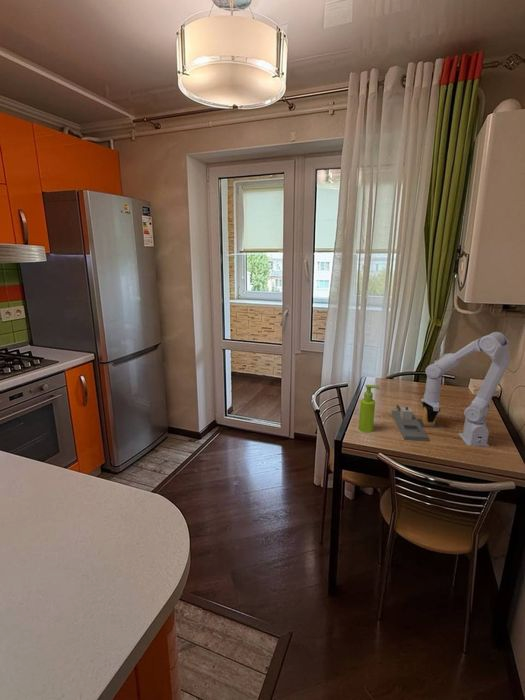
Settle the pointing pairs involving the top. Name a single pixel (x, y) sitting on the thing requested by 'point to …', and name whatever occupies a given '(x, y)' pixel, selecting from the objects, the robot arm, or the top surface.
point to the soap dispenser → (367, 410)
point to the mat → (428, 425)
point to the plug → (427, 419)
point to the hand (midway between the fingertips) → (428, 419)
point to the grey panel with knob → (409, 425)
